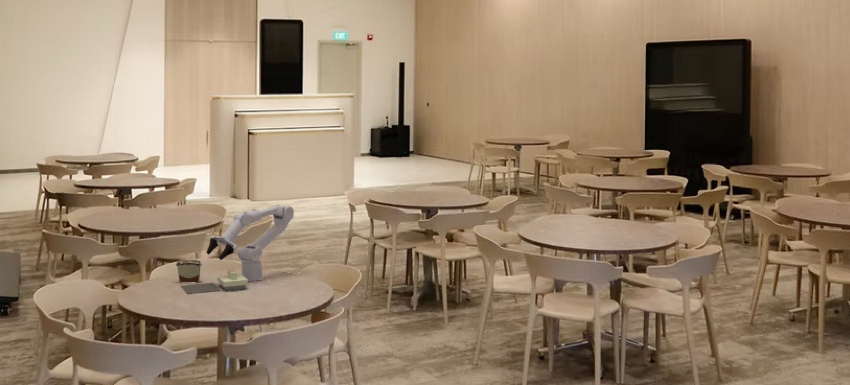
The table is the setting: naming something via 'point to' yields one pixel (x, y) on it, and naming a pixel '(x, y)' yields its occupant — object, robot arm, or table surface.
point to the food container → (189, 270)
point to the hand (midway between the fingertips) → (213, 256)
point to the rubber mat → (200, 288)
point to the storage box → (233, 287)
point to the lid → (232, 279)
